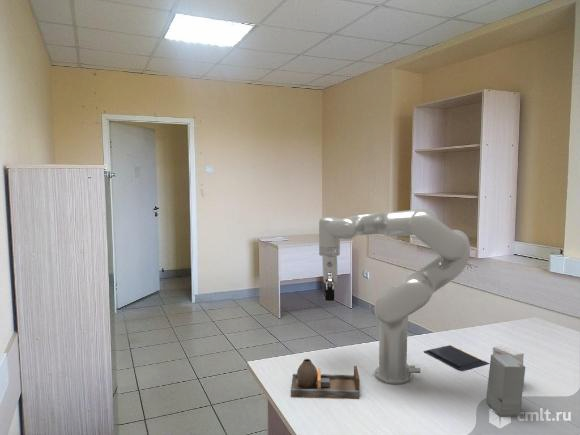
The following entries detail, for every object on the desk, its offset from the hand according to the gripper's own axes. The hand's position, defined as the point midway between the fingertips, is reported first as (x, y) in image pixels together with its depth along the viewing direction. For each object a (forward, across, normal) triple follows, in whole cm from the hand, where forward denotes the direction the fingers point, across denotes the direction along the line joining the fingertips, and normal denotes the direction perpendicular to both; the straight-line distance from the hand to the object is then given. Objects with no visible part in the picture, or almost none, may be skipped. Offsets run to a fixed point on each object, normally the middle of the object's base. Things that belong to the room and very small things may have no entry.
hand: (329, 296), depth 160 cm
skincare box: (+26, -28, -52) cm, 65 cm away
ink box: (+27, -11, -60) cm, 67 cm away
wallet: (+27, +9, -49) cm, 57 cm away
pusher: (+25, -18, +2) cm, 31 cm away
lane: (+26, -18, +2) cm, 32 cm away
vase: (+26, -18, +8) cm, 32 cm away
